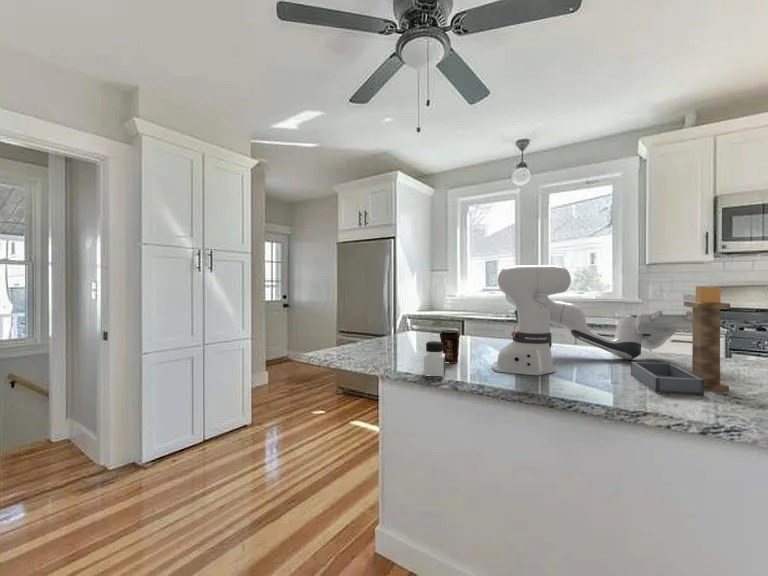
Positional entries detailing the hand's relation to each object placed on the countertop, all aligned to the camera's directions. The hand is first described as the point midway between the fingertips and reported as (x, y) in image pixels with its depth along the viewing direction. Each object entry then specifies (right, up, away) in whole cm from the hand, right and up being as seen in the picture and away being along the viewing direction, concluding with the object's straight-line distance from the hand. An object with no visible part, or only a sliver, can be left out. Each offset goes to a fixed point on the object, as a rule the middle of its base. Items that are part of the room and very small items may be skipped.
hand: (675, 312), depth 140 cm
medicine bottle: (-86, -23, +1) cm, 89 cm away
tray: (-16, -22, -16) cm, 31 cm away
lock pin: (-5, +5, -16) cm, 17 cm away
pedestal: (-5, -21, -20) cm, 30 cm away
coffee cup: (-77, -22, +21) cm, 83 cm away
